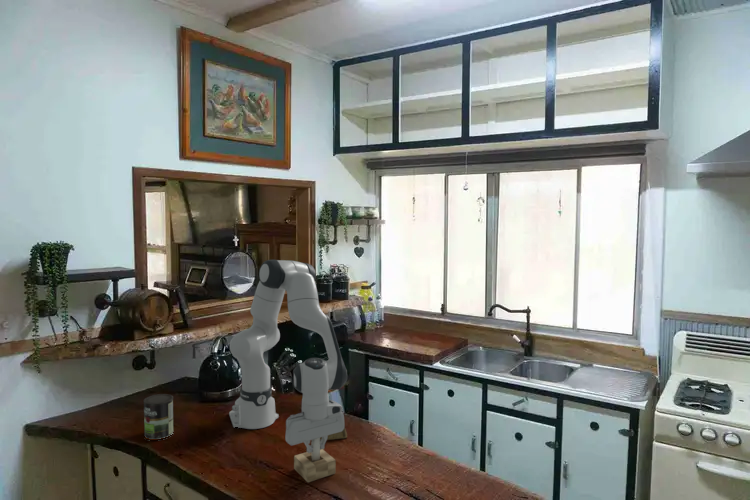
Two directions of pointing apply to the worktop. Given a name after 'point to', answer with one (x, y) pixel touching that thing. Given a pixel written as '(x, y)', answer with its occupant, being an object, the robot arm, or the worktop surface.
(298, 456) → the wooden block with hole
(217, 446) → the worktop surface
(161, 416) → the coffee can
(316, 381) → the robot arm
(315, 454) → the long grey cylinder
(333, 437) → the rock
